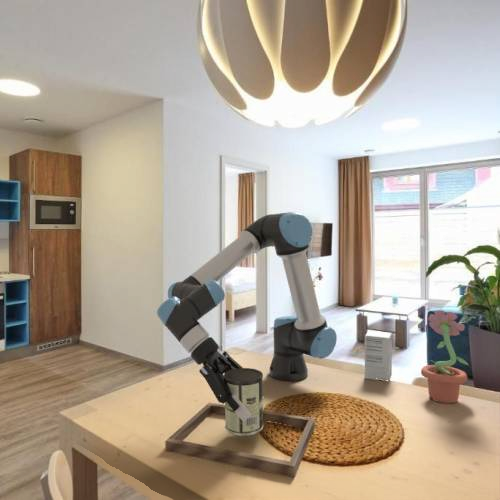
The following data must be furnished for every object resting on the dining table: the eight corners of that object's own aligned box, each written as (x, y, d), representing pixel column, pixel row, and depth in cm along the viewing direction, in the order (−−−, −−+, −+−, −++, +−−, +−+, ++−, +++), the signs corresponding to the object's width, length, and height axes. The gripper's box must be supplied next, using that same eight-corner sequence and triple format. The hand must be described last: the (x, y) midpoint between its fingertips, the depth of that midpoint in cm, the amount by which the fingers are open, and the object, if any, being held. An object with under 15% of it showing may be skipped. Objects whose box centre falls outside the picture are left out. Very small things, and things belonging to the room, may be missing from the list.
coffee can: (242, 414, 110) (241, 365, 110) (271, 425, 104) (270, 373, 103) (216, 428, 102) (215, 375, 102) (246, 440, 96) (245, 384, 95)
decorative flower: (476, 400, 128) (477, 309, 128) (463, 412, 119) (463, 315, 118) (430, 388, 139) (430, 304, 139) (414, 399, 129) (414, 309, 129)
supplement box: (368, 371, 158) (368, 330, 157) (392, 374, 154) (392, 332, 153) (364, 378, 149) (364, 335, 149) (389, 382, 145) (389, 337, 145)
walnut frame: (165, 450, 97) (165, 440, 97) (209, 410, 120) (209, 402, 120) (294, 477, 86) (294, 466, 86) (314, 427, 109) (314, 418, 109)
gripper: (209, 343, 118) (258, 401, 113) (170, 366, 97) (228, 438, 92) (225, 327, 116) (275, 385, 111) (188, 347, 95) (249, 419, 90)
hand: (254, 409), depth 102 cm, fingers closed on coffee can, 10 cm apart
